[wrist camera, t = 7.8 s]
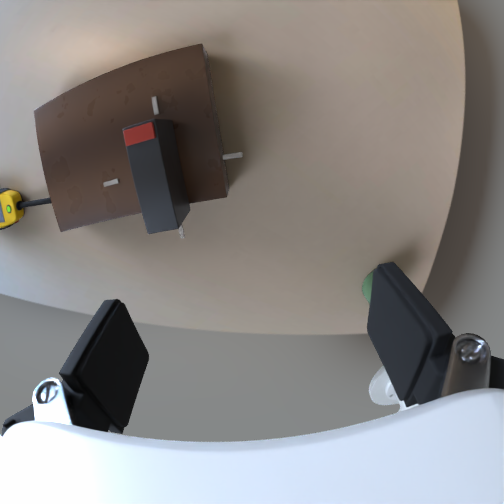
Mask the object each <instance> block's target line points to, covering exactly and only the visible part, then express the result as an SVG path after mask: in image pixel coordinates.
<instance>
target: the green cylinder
mask: <svg viewBox="0 0 504 504" xmlns="http://www.w3.org/2000/svg"><path fill="white" fill-rule="evenodd" d="M372 279H373V272H371V273H370V274H369V275H368V276H367V277H366V279H365V280H364V282H363V286H362V291H363V294H364V296H365V297H366V299H367V301H368V302H369V304H370V299H371V290H372Z"/></svg>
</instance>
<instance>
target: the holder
mask: <svg viewBox="0 0 504 504" xmlns="http://www.w3.org/2000/svg"><path fill="white" fill-rule="evenodd" d="M123 134H124V140H125V144H126V149H127V154H128V159H129V163H130V168H131V172H132V176H133V180H134V185H135V189H136V193H137V196H138V200H139V204H140V208H141V211H142V215H143V219H144V222H145V226H146V229H147V232H148V234H152V233H157V232H163V231H168V230H174V229H179V227H180V226H181V224H182V223H183V221H184V219H185V218H186V216H187V215H188V213H189V211H190V205H189V201H188V196H187V192H186V187H185V183H184V178H183V173H182V168H181V163H180V159H179V154H178V148H177V143H176V138H175V133H174V127H173V122H172V120H168V119H151V120H147V121H144V122H141V123H138V124H134V125H131V126H128V127H125V128H123Z"/></svg>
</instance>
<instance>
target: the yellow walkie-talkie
mask: <svg viewBox="0 0 504 504" xmlns="http://www.w3.org/2000/svg"><path fill="white" fill-rule="evenodd" d="M49 203H52V202H51V199H50V198H45V199H39V200H33V201H28V202H22V199H21V196H20V193H19V192H17V191H13V190H9V189H7V188H3V189H0V230H2V229H5V228H8V227H10V226H11V225H13V224H14V223H17V222H18V221H19V219H20V218H21V217H23V215H24V210H23V207H29V206H36V205H42V204H49Z"/></svg>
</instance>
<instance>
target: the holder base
mask: <svg viewBox="0 0 504 504" xmlns="http://www.w3.org/2000/svg"><path fill="white" fill-rule="evenodd" d="M34 118H35V126H36V133H37V139H38V145H39V151H40V156H41V161H42V166H43V171H44V175H45V179H46V183H47V187H48V191H49V195H50V199H51V202H52V206H53V209H54V212H55V216H56V219H57V222H58V225H59V228H60V231H61V232H63V231H67V230H71V229H74V228H78V227H82V226H86V225H90V224H94V223H99V222H103V221H107V220H111V219H116V218H120V217H125V216H129V215H134V214H138V213H142V211H141V208H140V204H139V200H138V196H137V193H136V189H135V185H134V180H133V176H132V172H131V168H130V163H129V159H128V154H127V149H126V144H125V140H124V134H123V128H125V127H128V126H131V125H134V124H138V123H141V122H144V121H147V120H151V119H168V120H172V122H173V127H174V133H175V138H176V143H177V148H178V154H179V159H180V163H181V168H182V173H183V178H184V183H185V187H186V192H187V196H188V201H189V204H190V203H195V202H201V201H207V200H213V199H219V198H225V197H227V195H228V191H229V184H228V178H227V172H226V166H225V160H226V159H232V158H239V157H243V154H242V152H238V153H231V154H225V155H224V154H223V148H222V142H221V136H220V130H219V124H218V118H217V111H216V105H215V99H214V93H213V86H212V80H211V74H210V67H209V61H208V54H207V52H206V50H205V48H204V47H203V45H202V44H198V45H193V46H189V47H185V48H181V49H177V50H173V51H169V52H166V53H162V54H159V55H155V56H152V57H149V58H146V59H143V60H140V61H137V62H134V63H131V64H128V65H126V66H123V67H120V68H118V69H115V70H113V71H110V72H108V73H105V74H103V75H101V76H98V77H96V78H94V79H92V80H89V81H87V82H85V83H83V84H81V85H79V86H77V87H75V88H73V89H71V90H69V91H67V92H65V93H63V94H62V95H60V96H58V97H56V98H54V99H53V100H51V101H49V102H47V103H46V104H44V105H42V106H41V107H39V108H37V109H36V110H34ZM178 230H179V234H180V238H185V234H184V230H183V226H182V224H181V226H180V227H179V229H178Z"/></svg>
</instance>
